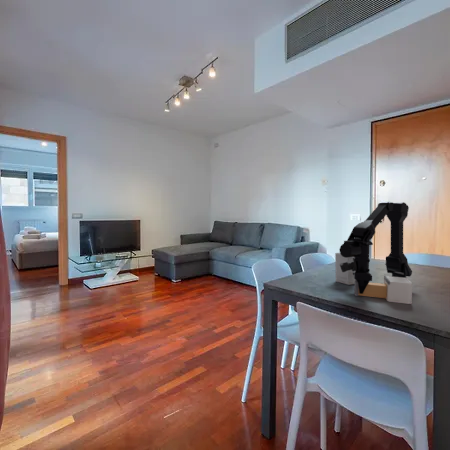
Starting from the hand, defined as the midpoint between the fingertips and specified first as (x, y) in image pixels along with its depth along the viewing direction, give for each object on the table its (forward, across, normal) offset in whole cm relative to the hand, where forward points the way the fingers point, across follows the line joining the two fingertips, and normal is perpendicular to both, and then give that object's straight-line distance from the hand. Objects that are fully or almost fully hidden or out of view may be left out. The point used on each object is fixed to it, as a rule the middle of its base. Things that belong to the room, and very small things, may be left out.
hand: (360, 292), depth 115 cm
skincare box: (+2, -19, -5) cm, 20 cm away
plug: (+1, 0, +6) cm, 6 cm away
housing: (+1, 0, +13) cm, 13 cm away
